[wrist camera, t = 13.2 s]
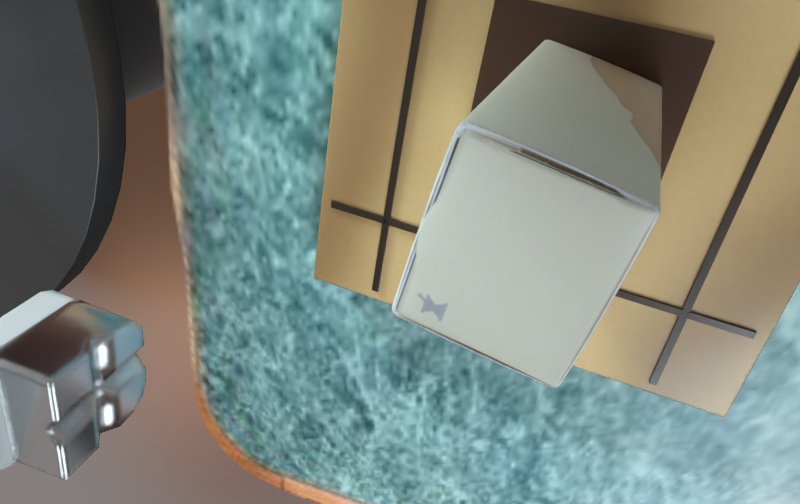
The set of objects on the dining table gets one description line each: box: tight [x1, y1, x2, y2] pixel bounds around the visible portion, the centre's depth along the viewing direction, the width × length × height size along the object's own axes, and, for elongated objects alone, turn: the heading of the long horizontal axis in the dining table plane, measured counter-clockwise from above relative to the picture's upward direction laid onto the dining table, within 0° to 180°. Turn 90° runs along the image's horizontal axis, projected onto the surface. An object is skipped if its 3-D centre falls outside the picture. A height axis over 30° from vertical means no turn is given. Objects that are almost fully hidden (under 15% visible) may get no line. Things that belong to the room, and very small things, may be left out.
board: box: [314, 0, 800, 417], centre depth 24 cm, size 18×20×2 cm
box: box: [392, 40, 662, 388], centre depth 19 cm, size 5×4×11 cm
